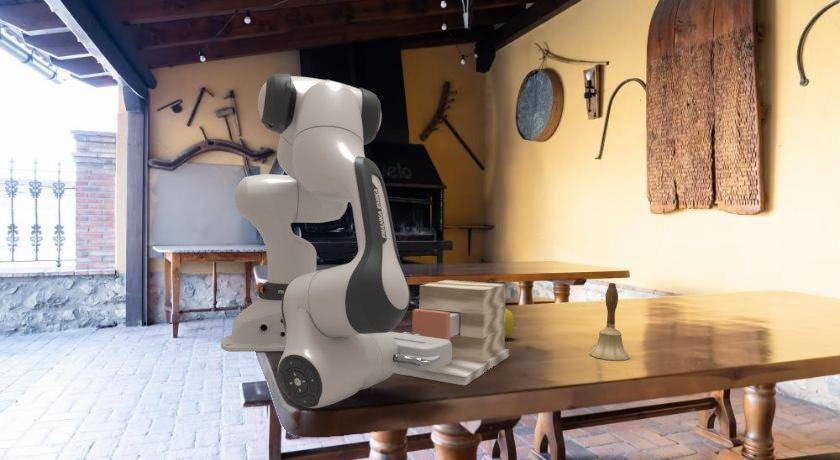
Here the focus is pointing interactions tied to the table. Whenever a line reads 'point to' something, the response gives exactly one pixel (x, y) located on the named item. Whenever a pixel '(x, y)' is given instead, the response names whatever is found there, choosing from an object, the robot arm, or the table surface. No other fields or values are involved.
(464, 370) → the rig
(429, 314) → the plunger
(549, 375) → the table surface
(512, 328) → the lemon
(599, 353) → the hand bell
